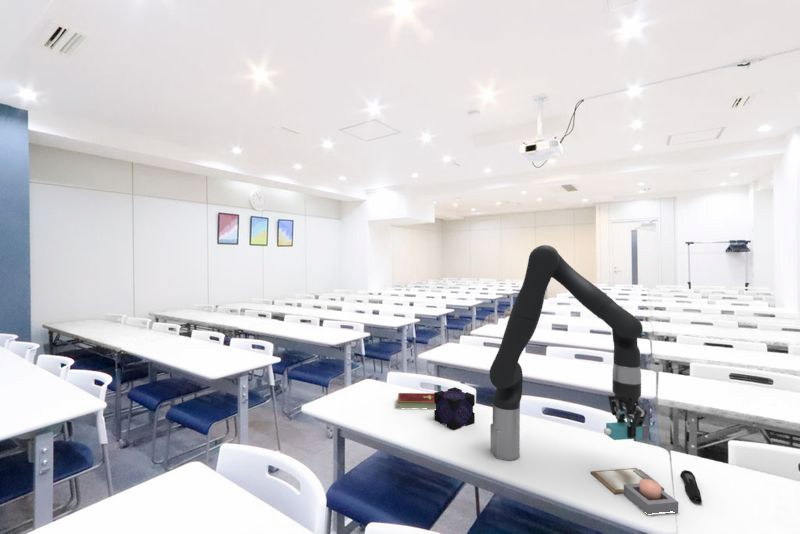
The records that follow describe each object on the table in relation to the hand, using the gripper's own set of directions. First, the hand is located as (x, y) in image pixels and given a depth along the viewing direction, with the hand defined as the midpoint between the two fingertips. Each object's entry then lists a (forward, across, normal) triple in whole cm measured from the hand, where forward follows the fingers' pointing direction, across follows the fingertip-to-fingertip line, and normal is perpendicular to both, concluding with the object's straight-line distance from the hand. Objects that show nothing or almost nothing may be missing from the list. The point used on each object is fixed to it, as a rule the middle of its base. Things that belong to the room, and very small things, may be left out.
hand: (626, 434), depth 114 cm
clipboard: (+15, 0, 0) cm, 15 cm away
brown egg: (+12, -10, +1) cm, 16 cm away
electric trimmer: (+15, -6, -17) cm, 23 cm away
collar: (+15, -10, +1) cm, 18 cm away
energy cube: (+15, +48, +41) cm, 65 cm away
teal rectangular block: (0, 0, 0) cm, 0 cm away
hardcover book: (+15, +69, +52) cm, 88 cm away
